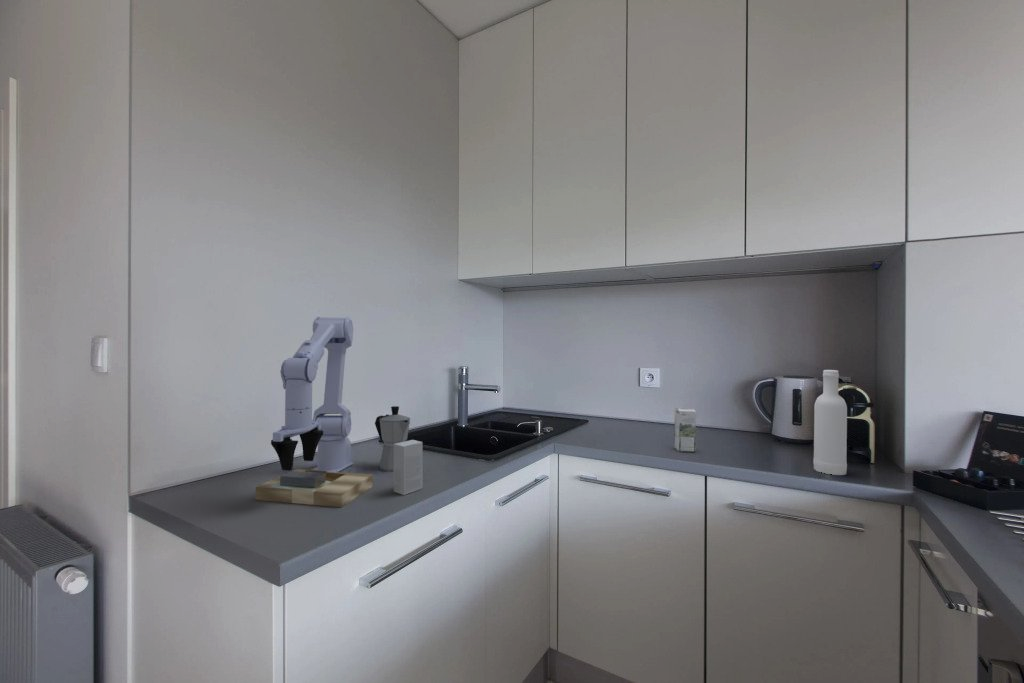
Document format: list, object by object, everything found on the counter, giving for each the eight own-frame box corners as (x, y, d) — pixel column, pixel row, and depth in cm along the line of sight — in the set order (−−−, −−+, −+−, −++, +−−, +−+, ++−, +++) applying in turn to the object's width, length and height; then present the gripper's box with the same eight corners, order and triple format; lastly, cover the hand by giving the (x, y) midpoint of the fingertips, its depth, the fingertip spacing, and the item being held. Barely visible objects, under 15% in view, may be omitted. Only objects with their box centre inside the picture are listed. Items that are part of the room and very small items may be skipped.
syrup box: (690, 448, 151) (690, 407, 151) (696, 452, 145) (696, 410, 145) (674, 447, 151) (674, 407, 151) (678, 452, 146) (679, 410, 146)
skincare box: (412, 485, 109) (412, 439, 109) (423, 489, 107) (423, 441, 107) (392, 491, 105) (393, 443, 105) (402, 495, 102) (403, 446, 102)
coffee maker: (420, 467, 125) (421, 406, 125) (397, 474, 118) (397, 410, 118) (387, 459, 134) (388, 402, 134) (363, 465, 126) (364, 405, 126)
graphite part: (291, 480, 103) (291, 471, 103) (325, 482, 102) (325, 473, 102) (280, 485, 99) (280, 476, 99) (315, 488, 98) (315, 478, 98)
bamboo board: (296, 480, 112) (296, 467, 112) (372, 486, 108) (373, 473, 108) (255, 499, 98) (255, 485, 98) (341, 507, 95) (341, 492, 95)
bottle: (846, 477, 119) (847, 371, 119) (812, 471, 124) (813, 370, 124) (846, 470, 126) (847, 370, 126) (814, 465, 131) (815, 368, 131)
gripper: (303, 403, 108) (303, 456, 108) (260, 412, 94) (260, 473, 94) (328, 404, 107) (328, 457, 107) (289, 413, 93) (288, 475, 93)
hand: (298, 465), depth 100 cm, fingers open, 7 cm apart
